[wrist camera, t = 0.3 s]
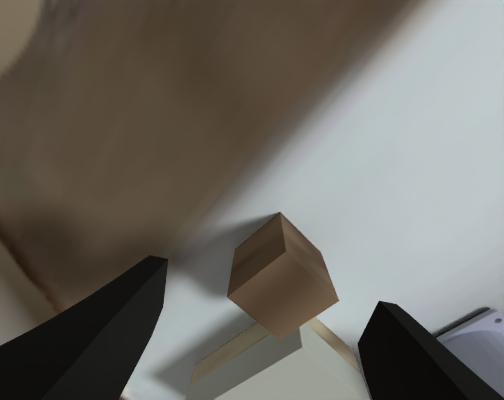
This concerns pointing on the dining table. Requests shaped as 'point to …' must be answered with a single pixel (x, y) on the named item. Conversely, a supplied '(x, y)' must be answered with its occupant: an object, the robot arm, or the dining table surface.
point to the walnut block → (280, 278)
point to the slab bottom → (259, 333)
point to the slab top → (283, 372)
